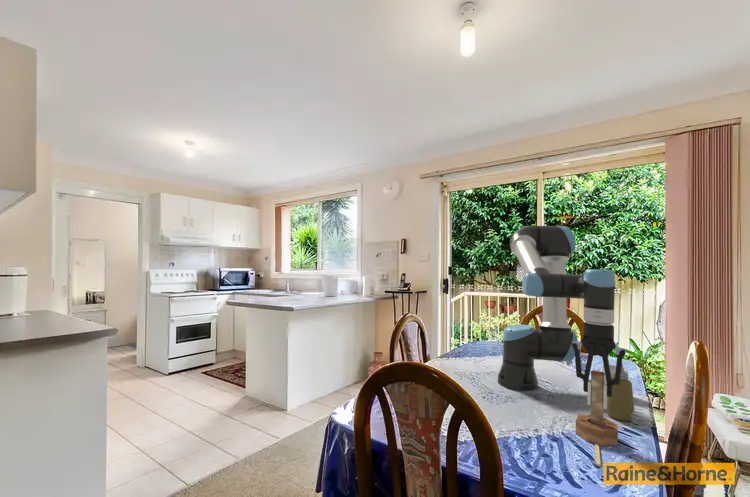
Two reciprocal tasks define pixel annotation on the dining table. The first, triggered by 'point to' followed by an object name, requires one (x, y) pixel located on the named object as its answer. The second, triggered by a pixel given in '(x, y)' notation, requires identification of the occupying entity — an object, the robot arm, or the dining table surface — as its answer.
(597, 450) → the pale yellow wooden rod
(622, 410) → the squeeze bottle
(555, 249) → the robot arm
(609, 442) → the walnut bead
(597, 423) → the needle dowel
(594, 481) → the dining table surface
